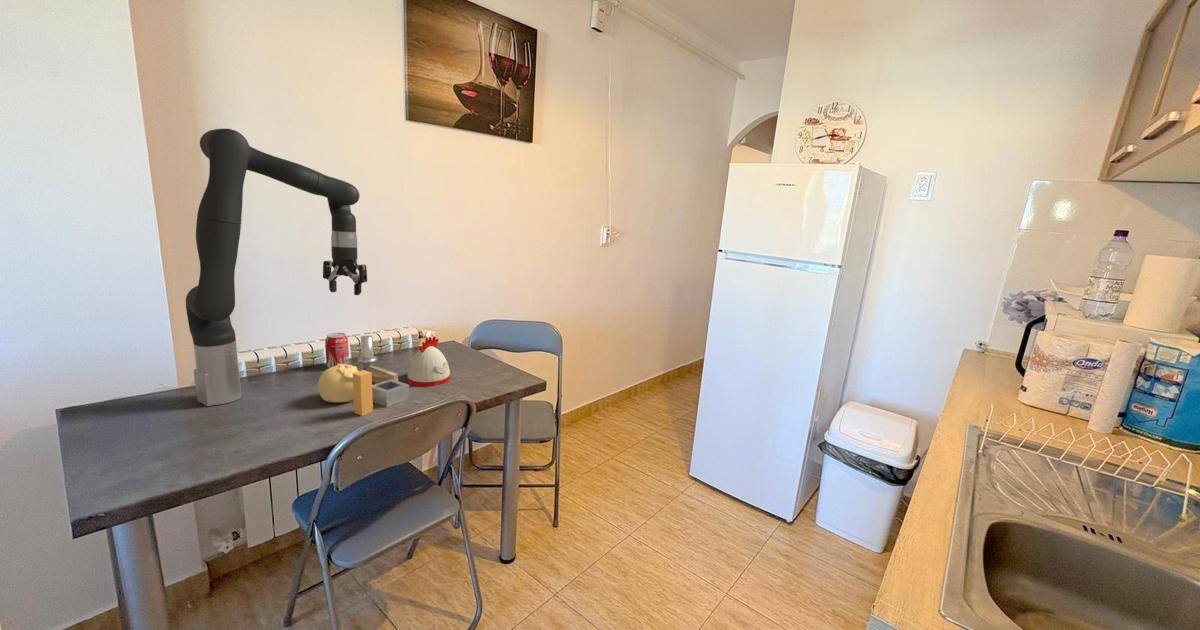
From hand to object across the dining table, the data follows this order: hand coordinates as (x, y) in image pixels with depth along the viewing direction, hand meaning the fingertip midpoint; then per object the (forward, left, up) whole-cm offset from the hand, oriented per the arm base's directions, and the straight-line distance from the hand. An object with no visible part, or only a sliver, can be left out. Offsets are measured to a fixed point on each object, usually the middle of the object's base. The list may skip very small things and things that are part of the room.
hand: (345, 293), depth 156 cm
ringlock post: (+1, -9, -28) cm, 29 cm away
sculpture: (-15, -19, -28) cm, 37 cm away
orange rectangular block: (-17, -32, -28) cm, 46 cm away
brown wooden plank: (-1, -19, -28) cm, 34 cm away
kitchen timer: (+12, -26, -28) cm, 40 cm away
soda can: (0, +6, -28) cm, 28 cm away
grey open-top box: (-7, -30, -28) cm, 42 cm away
